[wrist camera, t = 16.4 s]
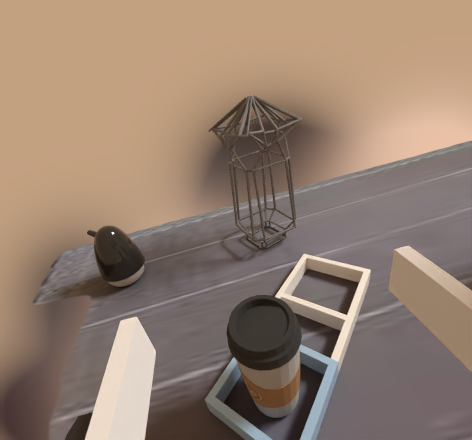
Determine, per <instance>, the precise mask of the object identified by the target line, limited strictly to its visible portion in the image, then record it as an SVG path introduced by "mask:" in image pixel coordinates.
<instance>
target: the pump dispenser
mask: <svg viewBox="0 0 472 440" xmlns="http://www.w3.org/2000/svg"><path fill="white" fill-rule="evenodd" d="M87 234H88V235H91V236H93V237H95V238H94V251H95V258H96V262H97V266H98V269H99V271H100V274H101V276H102V278H103V279H104V280H105V281H107V282H108V283H110V284H111V285H114V286H118V287H122V286H127V285H130V284H132V283H134V282H135V281H137V280H138V279H139V278H140V277H141V275H142V273H143V271H144V262H145V259H144V256H143V254H142V253H141V251H140V250H139V248H138V247H137V245H136V244H135V243H134V242H133V241H132V240H131V238H130V237H129V236H128V235H127V234H125V233H124V232H123V231H122V230H120V229H119V228H117V227H115V226H104V227H102V228H100V229H99V230H98V231H97V232H95V231H91V230H89V231H88V232H87Z"/></svg>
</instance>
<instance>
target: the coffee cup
mask: <svg viewBox="0 0 472 440" xmlns="http://www.w3.org/2000/svg"><path fill="white" fill-rule="evenodd" d="M227 337H228V345H229V349H230V351H231V353H232V355H233V356H234V358H235V359H236V361H237V363H238V367H239V370H240V372H241V374H242V377H243V379H244V381H245V384H246V386H247V388H248V390H249V393H250V395H251V397H252V399H253V401H254V402H255V404H256V406H257V408H258V409H259V410H260V411H261V412H262V413H263V414H265V415H266V416H269V417H272V418H281V417H284V416H287V415H288V414H289V413H291V412H292V411H293V410H294V408H295V407H296V405H297V402H298V399H299V385H300V344H301V337H302V335H301V329H300V326H299V321H298V319H297V317H296V315H295V313H294V312H293V311H292V310H291V308H290V307H289V306H288V304H287V303H286V302H284V301H283V300H281V299H280V298H277V297H274V296H269V295H257V296H253V297H250V298H248V299H246V300H244V301H242V302H241V303H240V304H238V305H237V306H236V307H235V309H234V310H233V311H232V313H231V316H230V318H229V323H228V326H227Z"/></svg>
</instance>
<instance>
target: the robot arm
mask: <svg viewBox="0 0 472 440" xmlns="http://www.w3.org/2000/svg"><path fill="white" fill-rule="evenodd" d="M389 290H390V291H391V292H392V293H393V294H394V295H395V296H396V297H397V298H398V299H399V300H400V301H401V302H402V303H403V304H404V305H405V306H406V307H407V308H408V309H409V310H410V311H411V312H412V313H413V314H414V315H415V316H416V317H417V318H418V319H419V320H420V321H421V322H422V323H423V324H424V325H425V326H426V327H427V328H428V329H429V330H430V331H431V332H432V333H433V334H434V335H435V336H436V337H437V338H438V339H439V340H440V341H441V342H442V343H443V344H444V345H445V346H446V347H447V348H448V349H449V350H450V351H451V352H452V353H453V354H454V355H455V356H456V357H457V358H458V359H459V360H460V361H461V362H462V363H463V364H464V365H465V366H466V367H467V368H468V369H469V370H470V371H471V372H472V290H470V289H469V288H468V287H466V286H465V285H463V284H462V283H460V282H459V281H458V280H456V279H455V278H453V277H452V276H451V275H449V274H448V273H446V272H445V271H444V270H442V269H441V268H439V267H438V266H436V265H435V264H434V263H432V262H431V261H429V260H428V259H427V258H425V257H424V256H422V255H421V254H419V253H418V252H417V251H415V250H414V249H412V248H411V247H410V246H405V247H402V248H398V249H394V255H393V262H392V269H391V276H390V282H389ZM155 356H156V351H155V349H154V347H153V345H152V344H151V342H150V340H149V338H148V336H147V334H146V333H145V331H144V329H143V327H142V325H141V324H140V322H139V320H138V318H137V317H133V318H129V319H125V320H122V321H120V325H119V328H118V331H117V335H116V338H115V341H114V344H113V348H112V351H111V354H110V358H109V361H108V364H107V368H106V371H105V374H104V378H103V381H102V384H101V388H100V391H99V394H98V398H97V401H96V404H95V408H94V411H93V412H92V413H89V414H85V415H81V416H78V418H77V420H76V421H75V423H74V424H73V426H72V427H71V429H70V431H69V432H68V434H67V436H66V439H65V440H145V433H146V426H147V418H148V410H149V402H150V395H151V387H152V379H153V371H154V364H155Z"/></svg>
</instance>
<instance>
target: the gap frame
mask: <svg viewBox="0 0 472 440" xmlns="http://www.w3.org/2000/svg"><path fill="white" fill-rule="evenodd" d="M307 269H311V270H314V271H318V272H322V273H325V274H329V275H333V276H336V277H340V278H344V279H347V280H351V281H355V282H358V283H359V285H358V288H357V290H356V293H355V296H354V298H353V301H352V304H351V306H350V309H349V311H348V314H347V315H345V314H342V313H339V312H336V311H334V310H331V309H328V308H325V307H322V306H319V305H317V304H314V303H311V302H308V301H305V300H302V299H300V298H297V297H294V296H291V294H292V292H293V291H294V289H295V288H296V286H297V284H298V283H299V281H300V280H301V278H302V276H303V275H304V273H305V272H306V270H307ZM370 271H371V270H369V269H365V268H361V267H356V266H352V265H348V264H344V263H340V262H336V261H331V260H327V259H323V258H319V257H315V256H311V255H307V254H304V255H303V256H302V258H301V259H300V261H299V262H298V263H297V265H296V266H295V268H294V269H293V271H292V272H291V274H290V275H289V277H288V278H287V280H286V281H285V283H284V284H283V285H282V287H281V288H280V290H279V291H278V293H277V294H276V296H275V297H277V298H280V299H281V300H283V301H284V302H286V303H287V304H288V306H289V307H290V308H291V310H292V311H293V312H294V313H296V314H299V315H301V316H304V317H306V318H309V319H312V320H314V321H317V322H319V323H322V324H324V325H327V326H329V327H332V328H335V329H337V330H340V331H341V333H340V335H339V338H338V341H337V343H336V346H335V348H334V351H333V354H332V356H331V358H329V357H327V356H324V355H322V354H320V353H318V352H316V351H314V350H311V349H309V348H307V347H305V346H303V345H301V344H300V363H301V364H303V365H305V366H307V367H309V368H311V369H313V370H315V371H317V372H319V373H321V374H323V375H324V378H323V380H322V383H321V385H320V388H319V391H318V393H317V396H316V399H315V401H314V404H313V407H312V409H311V412H310V415H309V417H308V420H307V422H306V425H305V428H304V430H303V433H302V436H301V438H300V440H316V438H317V435H318V432H319V429H320V426H321V423H322V421H323V418H324V415H325V412H326V409H327V406H328V403H329V400H330V397H331V394H332V391H333V388H334V385H335V382H336V379H337V376H338V373H339V370H340V367H341V364H342V361H343V359H344V356H345V353H346V350H347V347H348V344H349V341H350V338H351V335H352V332H353V329H354V326H355V323H356V320H357V317H358V314H359V311H360V308H361V305H362V302H363V299H364V297H365V294H366V291H367V288H368V285H369V282H370ZM240 376H241V372H240V370H239V367H238V363H237V361H236V359H235V358H234V357H233V359H232V360H231V362H230V363H229V365H228V366H227V368H226V369H225V371H224V372H223V374H222V375H221V376H220V378H219V379H218V381H217V382H216V384H215V385H214V387H213V388H212V390H211V391H210V393H209V394H208V396H207V397H206V398H205V402H206V404H207V406H208V409H209V411H210V412H211V413H212V414H214V415H215V416H216V417H217V418H219V419H220V420H221V421H222V422H224V423H225V424H226V425H227V426H229V427H230V428H231V429H232V430H234V431H235V432H236V433H237V434H239V435H240V436H241V437H242V438H244V439H245V440H272V439H271V438H269V437H268V436H267V435H265V434H264V433H263V432H261V431H260V430H259V429H257V428H256V427H255V426H253V425H252V424H251V423H249V422H248V421H247V420H245V419H244V418H243V417H241V416H240V415H239V414H237V413H236V412H235V411H233V410H232V409H231V408H229V407H228V406H227V405H225V404H224V401H225V400H226V398H227V396H228V395H229V393H230V392H231V390H232V388H233V387H234V385H235V384H236V382H237V380H238V379H239V377H240Z"/></svg>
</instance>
